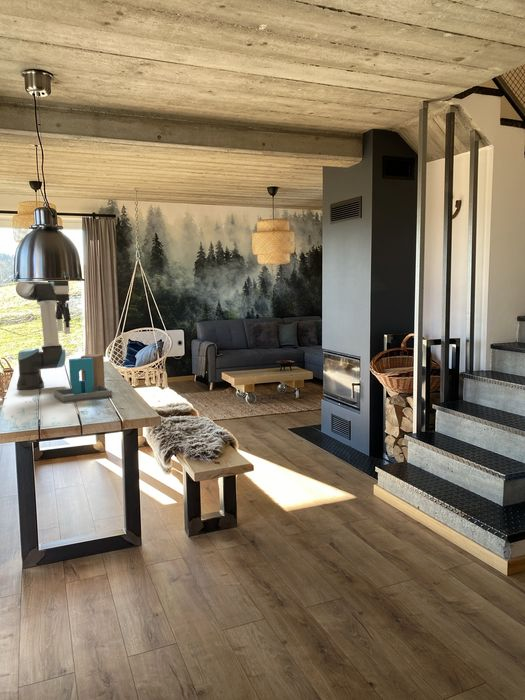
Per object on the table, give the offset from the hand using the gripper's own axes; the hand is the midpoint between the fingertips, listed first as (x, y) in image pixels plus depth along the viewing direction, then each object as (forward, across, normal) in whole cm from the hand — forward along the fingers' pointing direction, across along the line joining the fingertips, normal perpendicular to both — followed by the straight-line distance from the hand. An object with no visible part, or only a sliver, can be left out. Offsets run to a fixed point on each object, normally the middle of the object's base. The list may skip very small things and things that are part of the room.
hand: (63, 332), depth 307 cm
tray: (+35, +10, +6) cm, 37 cm away
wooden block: (+36, -10, +19) cm, 42 cm away
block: (+34, +10, +6) cm, 36 cm away
